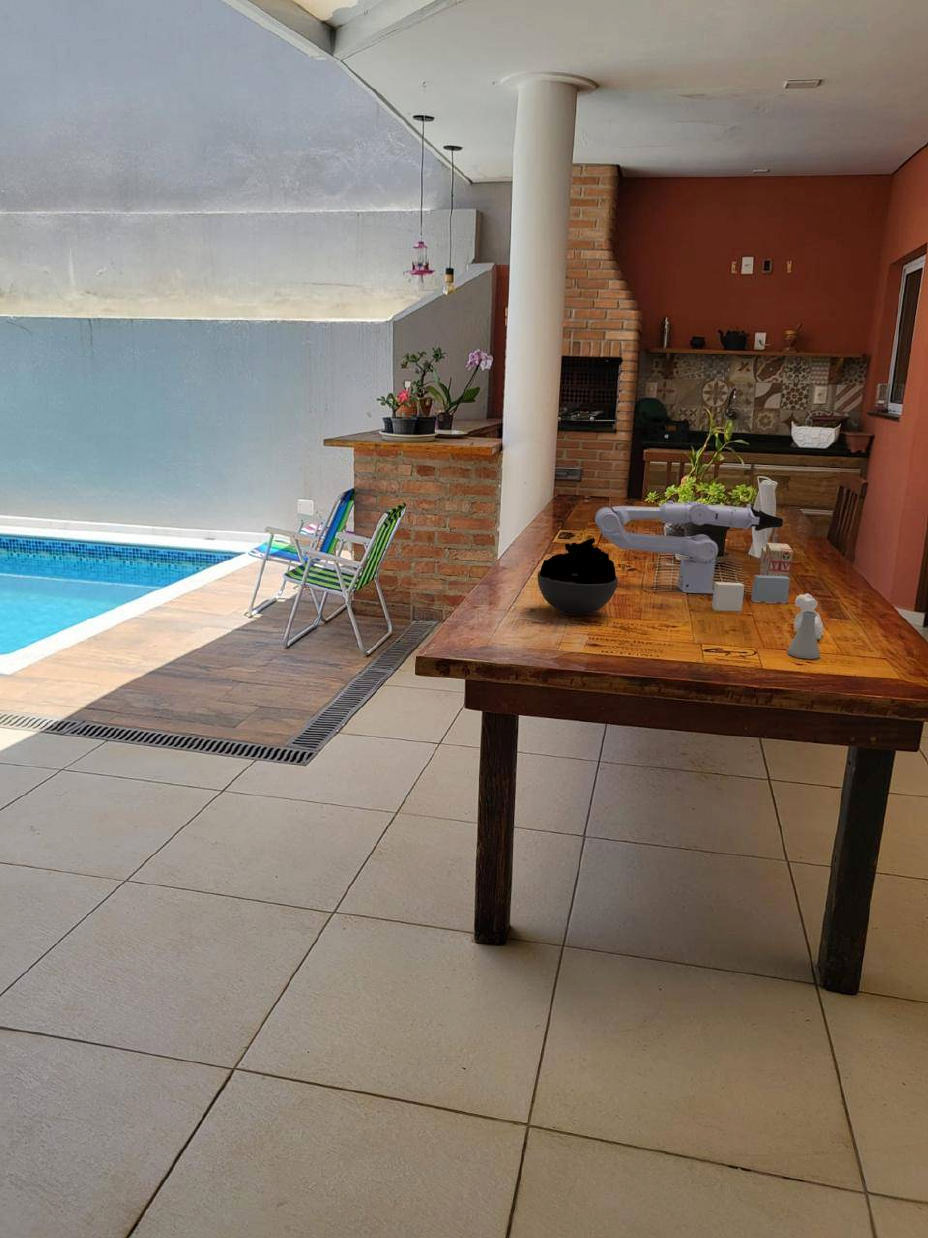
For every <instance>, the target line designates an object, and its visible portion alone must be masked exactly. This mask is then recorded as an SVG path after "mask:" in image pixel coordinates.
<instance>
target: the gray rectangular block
mask: <svg viewBox="0 0 928 1238" xmlns="http://www.w3.org/2000/svg"><path fill="white" fill-rule="evenodd" d="M790 585H791V578H790V577H789V578H788V577H787V576H765V575H759V574H754V576H753V584H752V590H751V597H750V600H751V601H752V602H753V603H764V604H768V603H769V604H786V603H787V604H788V597H789V591H790Z"/></svg>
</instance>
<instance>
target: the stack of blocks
mask: <svg viewBox="0 0 928 1238" xmlns="http://www.w3.org/2000/svg"><path fill="white" fill-rule="evenodd" d="M793 556H794V551H793V550H792V548H791V547H790V545H789V544H788V543H779V542H777V543H773V542H767V543H766V547H762V551H761V559H760V562H759V564H760V565H759V573H758V575H765V576H787V577H788V578H790V575H791V574H790V573H791V567H792V563H793V562H792V560H793Z"/></svg>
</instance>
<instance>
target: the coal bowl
mask: <svg viewBox="0 0 928 1238" xmlns="http://www.w3.org/2000/svg"><path fill="white" fill-rule="evenodd" d="M595 542H596V539H595V538H594V537H591V538H588V539H586V540H584V541H581V542H579V543H577V542H571V544H570V543H565V544H564V549H565V550H566V551H567V552H566V553H558V554H555V555H551V557H550V558H548V559H547V560H546V559H544V560H543V562H542V564H541V567H540V570H539V571H538V573H537V585H538V588H539V591H540V593H541V595H542V598H544V600H545V601H546V602H547V604H549V605H550V606H551V607H552V608H553V609H554V610H556V611H558V612H560V613H562V614H564V615H568V616H573V617H574V616H575V617H581V616H587V615H591V614H594V613H595V612H598V611H599V610H601V609H602V608H604V606H606V605H607V604H608V603H609V602H610V600H611V599H612V597H613V596H614V594H615V591H616V589H617V586H618V582H619V578H618V577H617V576H616V575H617V574H616V568H615V562H614V561H613V560H612V559H610V555H609V553H606V552H604V551H602V549H601V548H599V547H598V546H596V547H595V546H594V545H593V544H595Z"/></svg>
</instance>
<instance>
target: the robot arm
mask: <svg viewBox="0 0 928 1238" xmlns="http://www.w3.org/2000/svg"><path fill="white" fill-rule="evenodd" d="M753 508H754V507H752V505H751V504H750V503H746V506H745V507H741V506H732V505H723V504H722V505H721V504H704V503H702V502H699V501H695V500H693V501H689V500H687V501H686V502H674V501H673V500H668V501H667V502H664V503H662V504H661V505H660V506H659V507H658V506H657V507H656V506H637V505H636V506H635V505H634V506H632V505H618V506H617V505H616V506H612V507H608V506H605V507H601V508H600V509H598V510H597V511H596V512H595V516H594V521H595V524H596V525H597V527H598V530H599V531H600V532H601V534H602V536H603V538H606V539H607V540H608V541H609V542H610V543H612V544H613V545H614V546H616V548H618V549H620V550H630V551H631V550H632V551H641V552H652V553H653V552H654V553H663V554H664V553H665V554H675V555H684V556H687V557H689V559H682V560H681V562H680V564H679V570H678V581H677V586H676V587H677V588H678V589H679V590H680V591H681V592H682V593H688V594H690V593H691V594H692V593H693V594H710V595H711V594H714V588H713V587H714V586H713V585H714V577H715V576H714V575H715V568H716V561H717V560H716V557H717V556H718V553H719V546H718V544H717V543H716V542H715V541H714V540H712V539H711V538H710V537H709V536H708V535H706V534H704V533H703V534H696V535H693V536H688V535H687V536H673V535H671V536H670V535H664V534H663V535H661V534H651V533H638V532H630V531H629V532H628V531H627V530H626V528H625V527H624V525H626V524H627V523H629V522H631V520H632V521H633V520H657V519H658V520H659V521H661V522H662V523H663V524H687V523H689V522H690V523H693V524H694V525H697V526H703V525H704V524H705V525H712V526H717V527H718V526H720V527H730V528H736V529H737V528H738V529H743V530H748V529H750V528H752V527H753V526H755V530H756V531H759V530H762V529H765V528H772V529H773V528H776V527H777V528H782V527H783V523H784V519H783V518H782V517H778V516H775V517H774V516H771V515H768V514H766V513H764V512H763V511H761V510H759V512H758V511H756V510H755V509H753Z"/></svg>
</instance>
